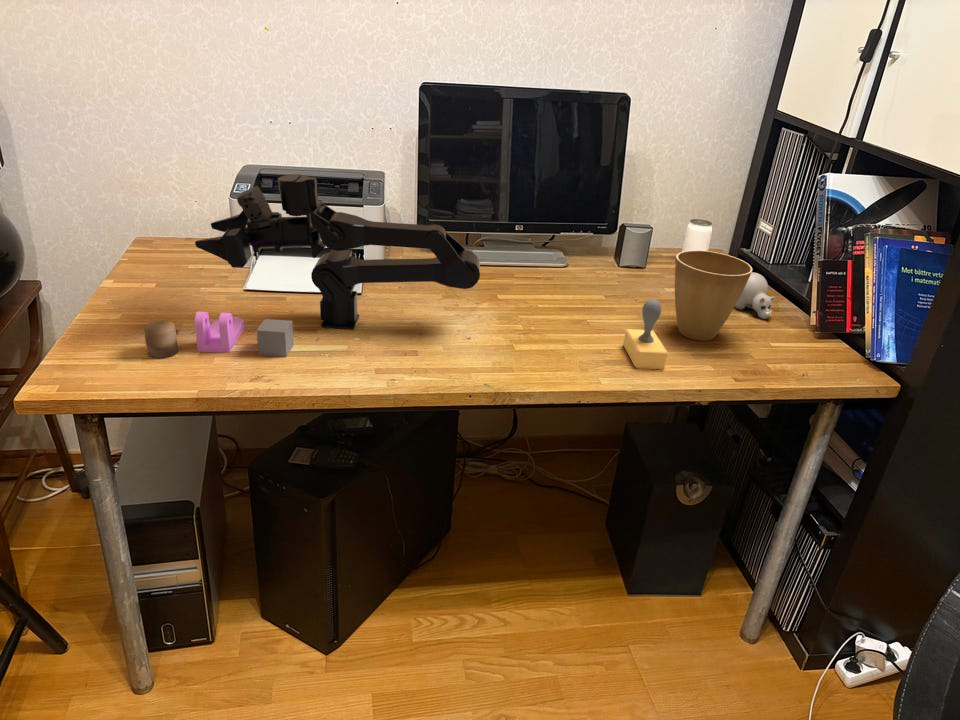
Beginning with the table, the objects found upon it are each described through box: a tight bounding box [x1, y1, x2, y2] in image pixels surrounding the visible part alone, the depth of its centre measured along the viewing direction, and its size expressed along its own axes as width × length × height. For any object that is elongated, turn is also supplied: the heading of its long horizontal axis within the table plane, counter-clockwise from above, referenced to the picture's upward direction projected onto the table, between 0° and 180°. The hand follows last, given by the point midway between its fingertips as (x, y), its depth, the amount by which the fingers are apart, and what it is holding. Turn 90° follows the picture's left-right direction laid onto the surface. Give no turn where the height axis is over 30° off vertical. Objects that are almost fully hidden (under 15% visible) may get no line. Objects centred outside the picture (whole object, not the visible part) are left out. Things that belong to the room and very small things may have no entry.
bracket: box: [194, 311, 245, 354], centre depth 131 cm, size 13×6×7 cm, turn 3°
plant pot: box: [674, 250, 753, 342], centre depth 145 cm, size 15×15×16 cm
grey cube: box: [256, 318, 294, 358], centre depth 128 cm, size 5×5×5 cm
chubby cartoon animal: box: [734, 271, 776, 320], centre depth 160 cm, size 7×12×8 cm, turn 18°
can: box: [681, 218, 713, 252], centre depth 186 cm, size 6×6×12 cm
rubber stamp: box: [622, 298, 668, 370], centre depth 134 cm, size 10×6×12 cm, turn 3°
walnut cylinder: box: [143, 320, 179, 360], centre depth 124 cm, size 5×5×5 cm
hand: (203, 234), depth 133 cm, fingers open, 9 cm apart
